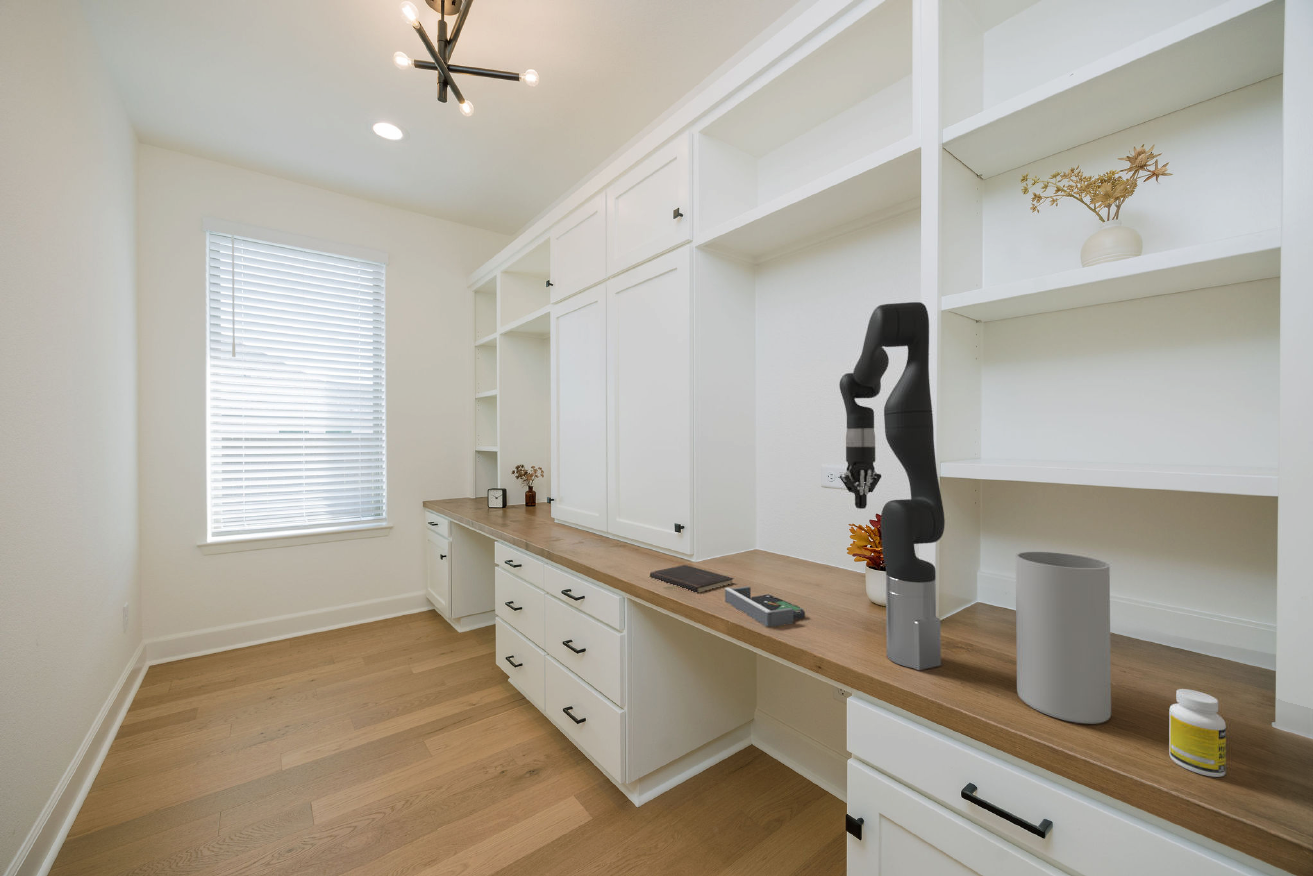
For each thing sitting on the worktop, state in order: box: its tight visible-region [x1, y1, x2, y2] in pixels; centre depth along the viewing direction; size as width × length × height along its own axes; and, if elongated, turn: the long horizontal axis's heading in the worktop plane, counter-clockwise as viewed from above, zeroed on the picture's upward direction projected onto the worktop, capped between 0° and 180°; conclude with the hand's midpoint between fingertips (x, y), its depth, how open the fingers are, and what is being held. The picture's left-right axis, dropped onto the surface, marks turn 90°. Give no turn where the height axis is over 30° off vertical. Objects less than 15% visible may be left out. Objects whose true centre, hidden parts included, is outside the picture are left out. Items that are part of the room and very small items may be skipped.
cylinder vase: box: [1015, 551, 1112, 725], centre depth 86 cm, size 12×12×25 cm
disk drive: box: [750, 594, 806, 621], centre depth 134 cm, size 10×3×15 cm
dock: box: [724, 585, 794, 628], centre depth 134 cm, size 21×8×4 cm, turn 21°
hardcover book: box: [649, 564, 734, 594], centre depth 164 cm, size 16×23×2 cm
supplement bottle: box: [1168, 688, 1227, 778], centre depth 70 cm, size 5×5×10 cm
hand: (860, 508), depth 138 cm, fingers closed
